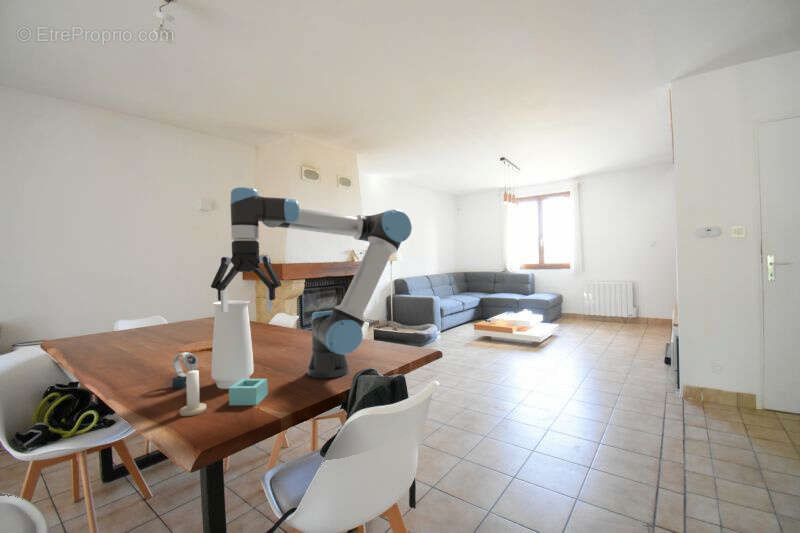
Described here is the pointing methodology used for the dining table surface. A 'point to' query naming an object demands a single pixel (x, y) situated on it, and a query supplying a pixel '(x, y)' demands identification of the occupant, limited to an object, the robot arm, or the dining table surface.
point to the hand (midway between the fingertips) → (247, 311)
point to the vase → (231, 344)
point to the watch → (188, 361)
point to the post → (192, 395)
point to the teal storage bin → (248, 392)
